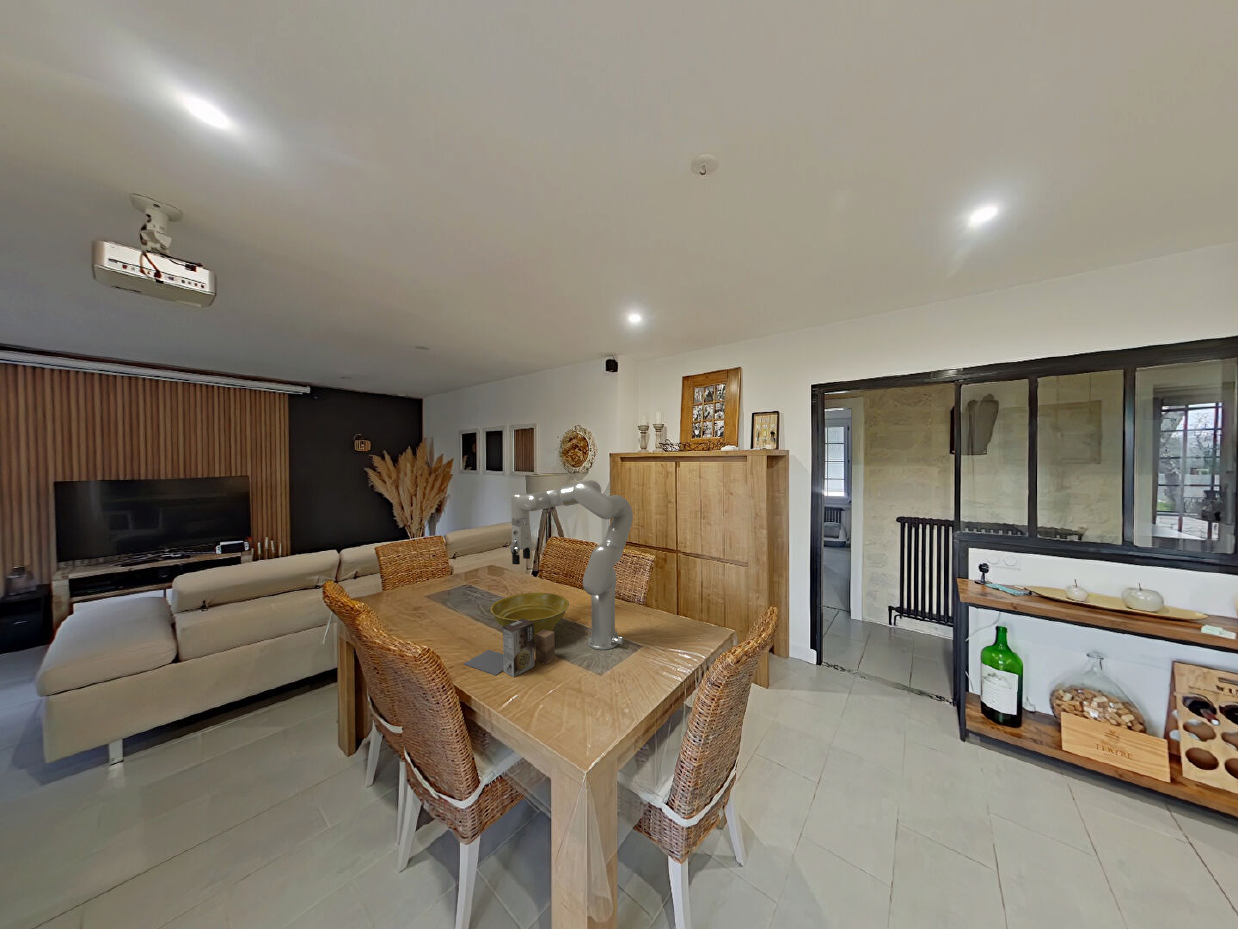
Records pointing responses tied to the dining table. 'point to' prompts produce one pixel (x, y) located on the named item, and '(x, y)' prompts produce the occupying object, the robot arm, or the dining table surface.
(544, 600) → the planter bowl
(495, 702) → the dining table surface
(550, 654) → the walnut block
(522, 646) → the coffee box
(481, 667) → the mat
